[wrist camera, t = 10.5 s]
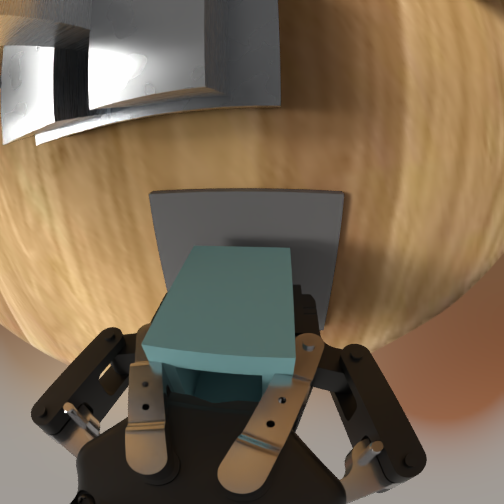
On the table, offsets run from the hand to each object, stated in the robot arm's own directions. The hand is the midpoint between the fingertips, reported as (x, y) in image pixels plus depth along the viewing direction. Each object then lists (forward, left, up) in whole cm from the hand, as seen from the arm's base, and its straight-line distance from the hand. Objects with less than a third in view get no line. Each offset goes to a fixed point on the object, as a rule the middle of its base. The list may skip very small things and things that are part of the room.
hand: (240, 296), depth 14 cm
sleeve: (0, 0, -1) cm, 1 cm away
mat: (0, 0, -3) cm, 3 cm away
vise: (-5, +14, -3) cm, 15 cm away
